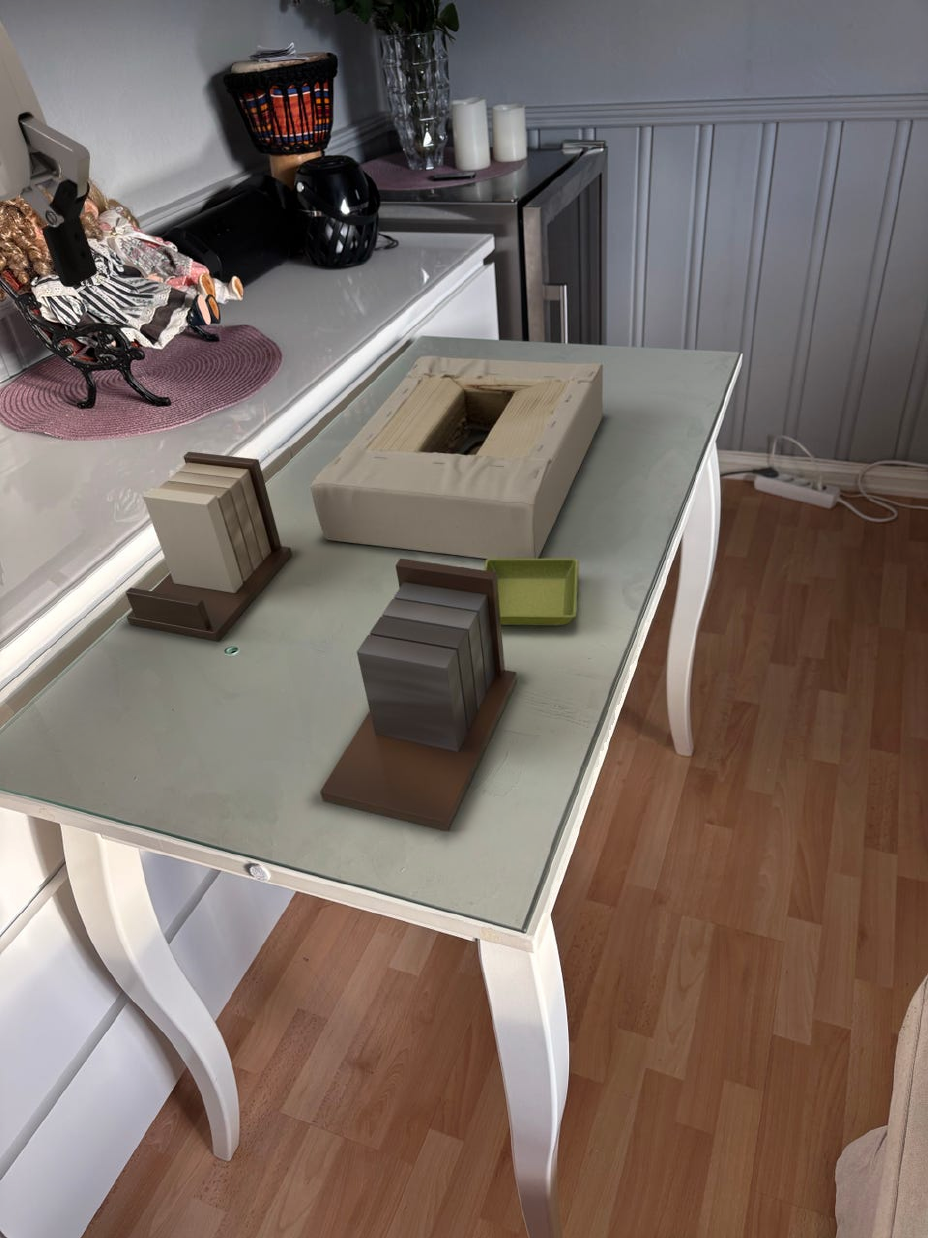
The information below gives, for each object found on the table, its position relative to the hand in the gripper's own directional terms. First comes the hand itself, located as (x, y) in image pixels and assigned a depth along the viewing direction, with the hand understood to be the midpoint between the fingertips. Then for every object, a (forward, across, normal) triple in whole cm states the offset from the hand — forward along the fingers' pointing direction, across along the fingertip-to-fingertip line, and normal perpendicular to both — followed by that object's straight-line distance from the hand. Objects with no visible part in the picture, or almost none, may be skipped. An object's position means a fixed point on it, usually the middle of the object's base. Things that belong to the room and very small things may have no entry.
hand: (27, 278), depth 66 cm
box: (+32, +20, +32) cm, 50 cm away
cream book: (+31, +2, +6) cm, 32 cm away
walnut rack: (+32, +30, -7) cm, 45 cm away
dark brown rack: (+32, +2, +6) cm, 33 cm away
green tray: (+32, +33, +11) cm, 48 cm away
